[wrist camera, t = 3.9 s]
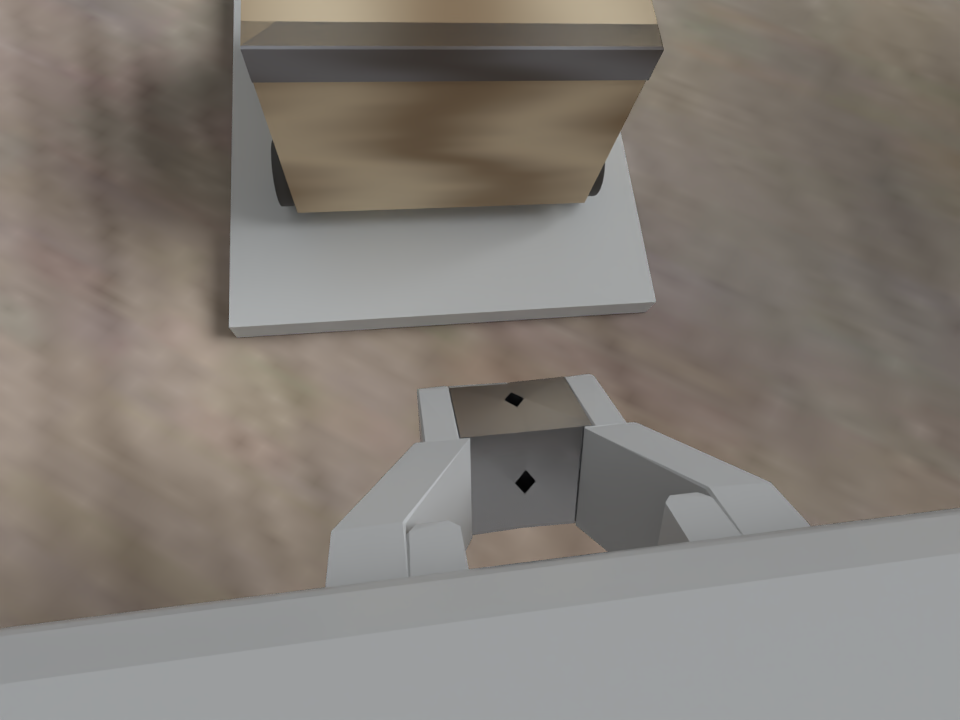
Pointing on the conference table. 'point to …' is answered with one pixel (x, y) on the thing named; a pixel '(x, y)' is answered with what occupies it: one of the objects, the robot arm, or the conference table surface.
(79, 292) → the conference table surface
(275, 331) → the dock
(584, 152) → the wooden cart
